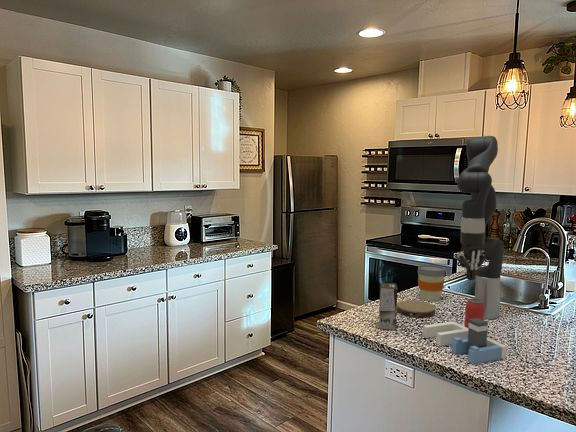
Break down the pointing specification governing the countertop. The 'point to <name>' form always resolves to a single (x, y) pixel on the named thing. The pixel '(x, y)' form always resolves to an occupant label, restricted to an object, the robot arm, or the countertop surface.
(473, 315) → the beer can
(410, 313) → the ringed wooden coaster
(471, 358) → the duct comb
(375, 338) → the countertop surface
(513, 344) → the countertop surface
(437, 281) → the reusable coffee cup
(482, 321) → the grey trapezoid block
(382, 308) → the coffee box
